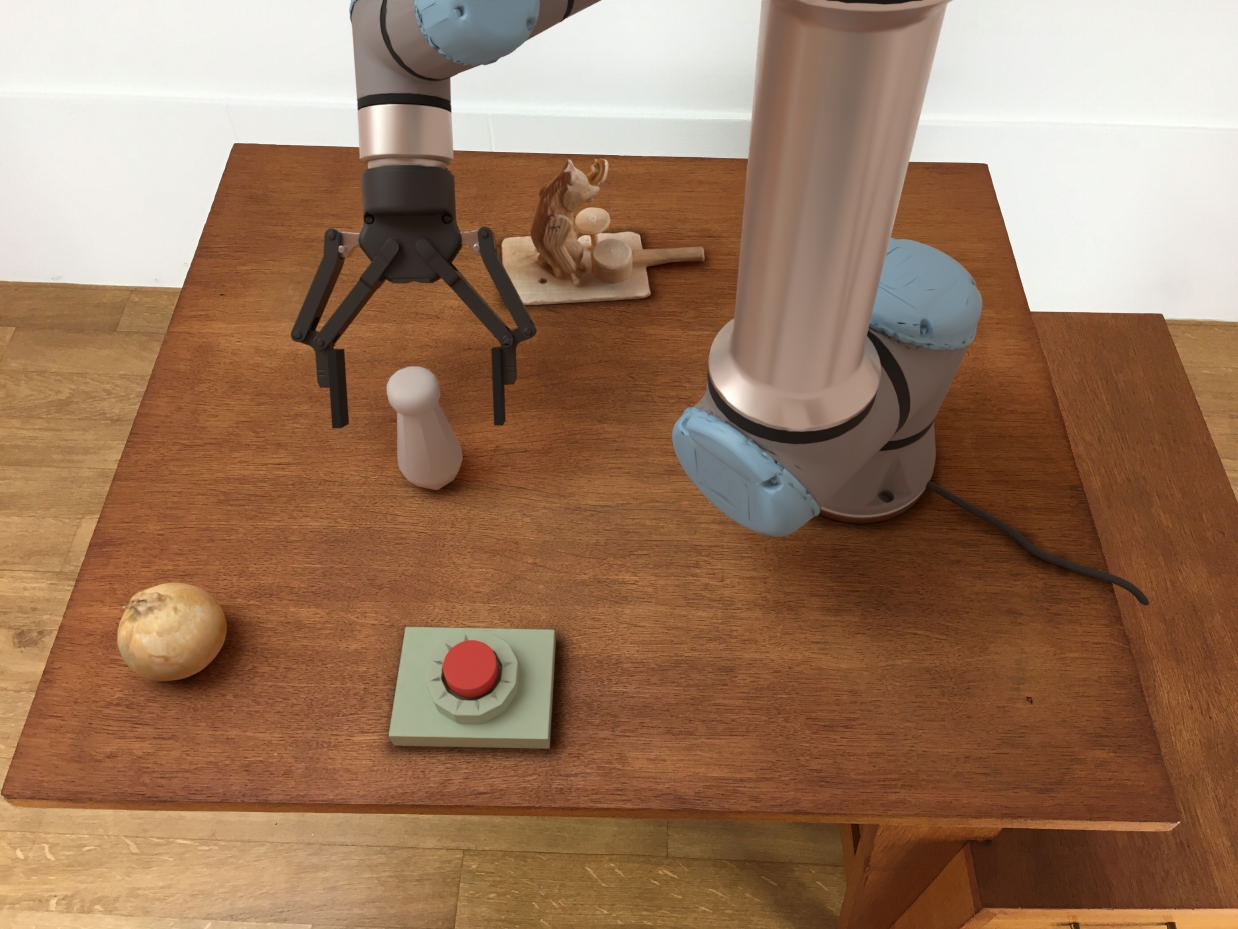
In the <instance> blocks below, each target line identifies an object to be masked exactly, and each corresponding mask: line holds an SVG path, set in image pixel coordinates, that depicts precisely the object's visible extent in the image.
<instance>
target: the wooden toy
mask: <svg viewBox="0 0 1238 929" xmlns="http://www.w3.org/2000/svg"><path fill="white" fill-rule="evenodd" d="M609 164H610V163H609V162H608V160H606V159H605V158H597V159H596V158H594V159H593V160H592V163H591V165H590V166H588V168H586V169H585V170H584V171H582V170H580V169H579V168H577V167H575V166H574V163H573V161H572V159H569V158H568V159H566V160H565V162H564V164H563V166H562V168H561V169H560V170H559V172H557V173H556V175H555V176H554V177H553V178H552V179H551V181H550V182H549V183H548V184H546V185H543V186H542V187H541V188H540V189H539V191H538V196H539V201H538V204H537V206H536V211H535V214H534V218H533V220H532V223H531V226H530V230H529V231H530V235H528V236H527V235H526V236H514V237H513V236H511V237H505V238H504V239H503V240H502V241H501V244H500V245H501V246H500V247H501V248H500V251H501V262H502V264H503V266H504V268H505V270H506V272H507V273H508V275H509V277H510V279H511V281H512V283H513V285H514V287H515V289H516V291H517V292H518V294H519V296H520V298H521V300H522V302H523V304H524V306H537V305H555V304H572V303H573V304H575V303H589V302H607V301H608V302H609V301H610V302H611V301H623V300H641V299H645V298H648V297H649V296H651V288H650V284H649V277H648V272H647V268H648V267H651V266H658V265H664V264H668V263H683V262H701V263H702V262H704V261H705V249H704V247H703V246H701V245H698V246H685V247H684V246H683V247H682V246H681V247H664V248H662V247H660V248H647V249H646V248H645V249H644V248H643V245H642V241H641V236H640V234H639V233H636V232H633V231H620V232H614V233H611V232H605V231H607V230H608V228H609V226H610V223H611V216H610V214H609V213H608V212H607V211H606V210H605V209H603V208H601V207H593V206H591V207H586V208H583V209H582V210H580V211H578V210H579V209H580V207H581V206H582V205H583V204H584V203H585V204H586V203H588V204H589V203H594V199H595V197H597V196H598V194H599V193H600V186H602V185H603V183H605V182H606V180H607V177H608V174H609ZM577 211H578V213H577V214H576V215H575V217H574V212H577Z"/></svg>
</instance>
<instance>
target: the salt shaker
mask: <svg viewBox="0 0 1238 929" xmlns="http://www.w3.org/2000/svg"><path fill="white" fill-rule="evenodd" d="M386 395H387V401H388V403H389V405H390V406H391V407H392V408H393V409H394V410H395V412H396V458H397V465H398V469H399V471H400V473H401V474H402V475H403V477H405V479H406V480H407V481H408V482H409V483H411V484H412V485H414V486H416V487H418V488H422V489H428V490H434V491H438V490H440V489H442V488H443V487H445V486H446V485H448V484H450V483H452V482H453V481H455V479H456V478H457V475H458V473H459V471H460V468H461V465H462V462H463V458H464V456H463V451H462V446H461V443H460V441H459V440H458V438H457V435H456V433H455V432H454V430H453V428H452V426H451V424H450V422H449V420H448V418H447V417H446V415H445V413H444V411H443V409H442V406H441V405H440V403H439V401H440V398H441V388H440V382H439V379H438V378H437V376H436V375H435V373H433V372H432V371H431V370H430V369H428V368H426V367H423V366H414V365H413V366H406V367H404V368H400V369H398V370H397V371H396V372H395V373H393V374H392V375H391V376H390V377H389V379H388V382H387V384H386Z"/></svg>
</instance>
